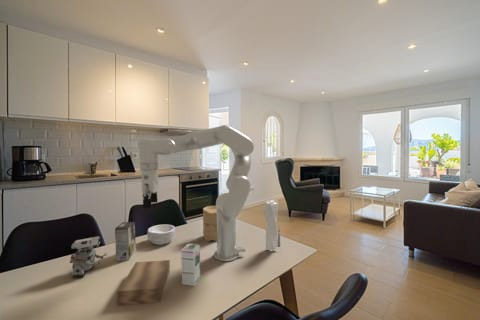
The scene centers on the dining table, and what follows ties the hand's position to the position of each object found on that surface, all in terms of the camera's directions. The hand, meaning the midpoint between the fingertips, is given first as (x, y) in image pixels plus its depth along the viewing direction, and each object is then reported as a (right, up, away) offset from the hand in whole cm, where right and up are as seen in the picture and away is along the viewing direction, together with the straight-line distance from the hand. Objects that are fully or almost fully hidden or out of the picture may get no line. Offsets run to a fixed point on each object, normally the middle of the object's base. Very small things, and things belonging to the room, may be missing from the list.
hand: (150, 205), depth 100 cm
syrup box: (+20, -30, -9) cm, 37 cm away
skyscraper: (+57, -29, +21) cm, 67 cm away
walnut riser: (+3, -30, -12) cm, 32 cm away
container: (+24, -27, +36) cm, 51 cm away
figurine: (-26, -29, -2) cm, 39 cm away
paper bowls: (-6, -28, +30) cm, 41 cm away
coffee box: (-17, -29, +12) cm, 35 cm away
